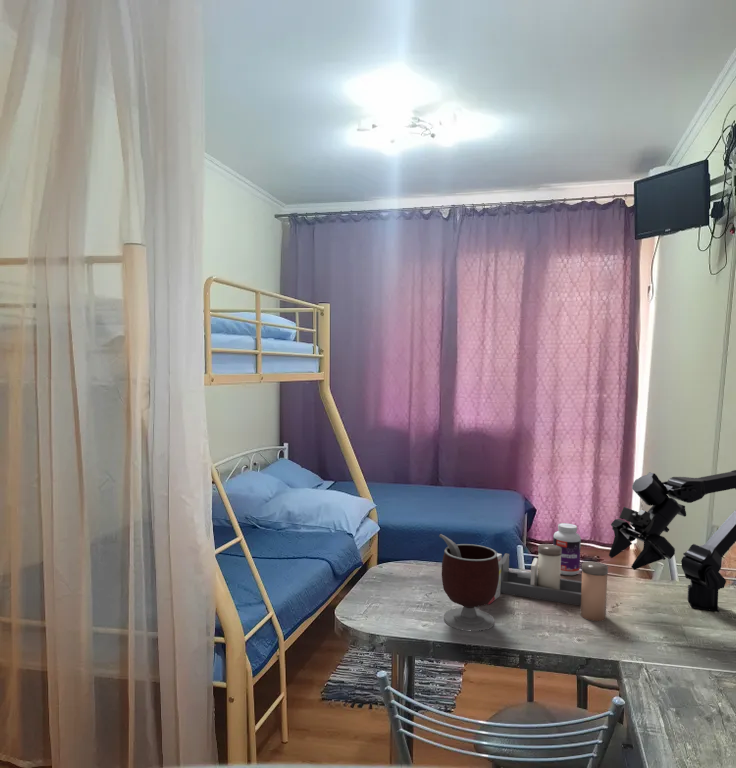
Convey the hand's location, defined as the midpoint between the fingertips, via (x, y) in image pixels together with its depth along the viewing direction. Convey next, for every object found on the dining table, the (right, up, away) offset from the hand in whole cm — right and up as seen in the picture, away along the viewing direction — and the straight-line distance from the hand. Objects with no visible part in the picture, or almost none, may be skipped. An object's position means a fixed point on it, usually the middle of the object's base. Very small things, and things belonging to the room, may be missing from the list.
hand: (621, 562), depth 157 cm
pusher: (-20, -12, +15) cm, 28 cm away
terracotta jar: (-8, -13, -2) cm, 15 cm away
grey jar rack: (-15, -12, +13) cm, 23 cm away
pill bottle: (-4, -12, +31) cm, 34 cm away
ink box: (-33, -12, +8) cm, 36 cm away
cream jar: (-15, -12, +13) cm, 23 cm away
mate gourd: (-41, -13, -6) cm, 43 cm away
